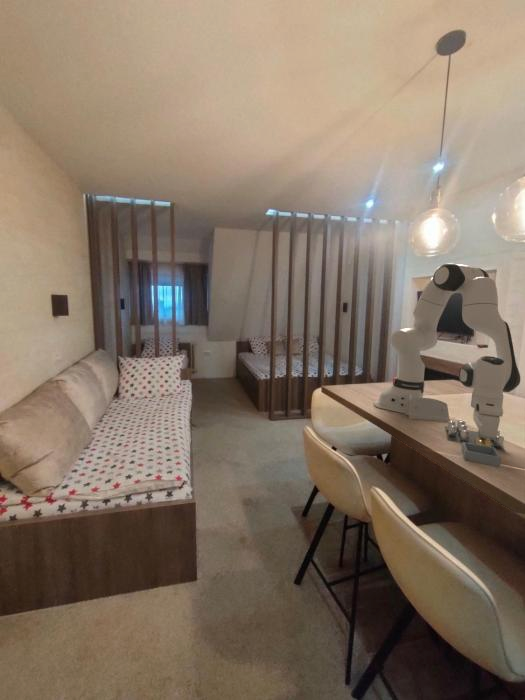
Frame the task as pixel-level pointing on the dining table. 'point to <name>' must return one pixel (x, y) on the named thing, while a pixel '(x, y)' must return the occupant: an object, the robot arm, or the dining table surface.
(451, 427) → the spacers
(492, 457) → the tray
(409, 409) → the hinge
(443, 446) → the dining table surface
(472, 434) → the mat
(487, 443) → the knob
